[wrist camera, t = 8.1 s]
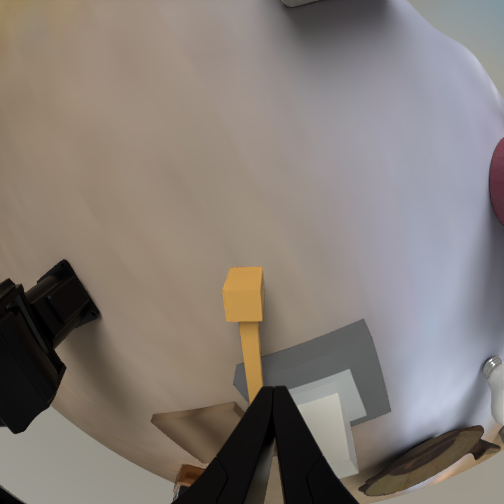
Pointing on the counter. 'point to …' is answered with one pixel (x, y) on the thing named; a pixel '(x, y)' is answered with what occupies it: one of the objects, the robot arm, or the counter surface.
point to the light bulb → (496, 387)
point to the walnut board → (201, 429)
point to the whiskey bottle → (185, 479)
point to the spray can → (502, 434)
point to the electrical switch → (296, 2)
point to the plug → (332, 418)
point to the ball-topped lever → (247, 318)
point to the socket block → (328, 366)
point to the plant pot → (498, 180)
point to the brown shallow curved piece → (428, 460)
